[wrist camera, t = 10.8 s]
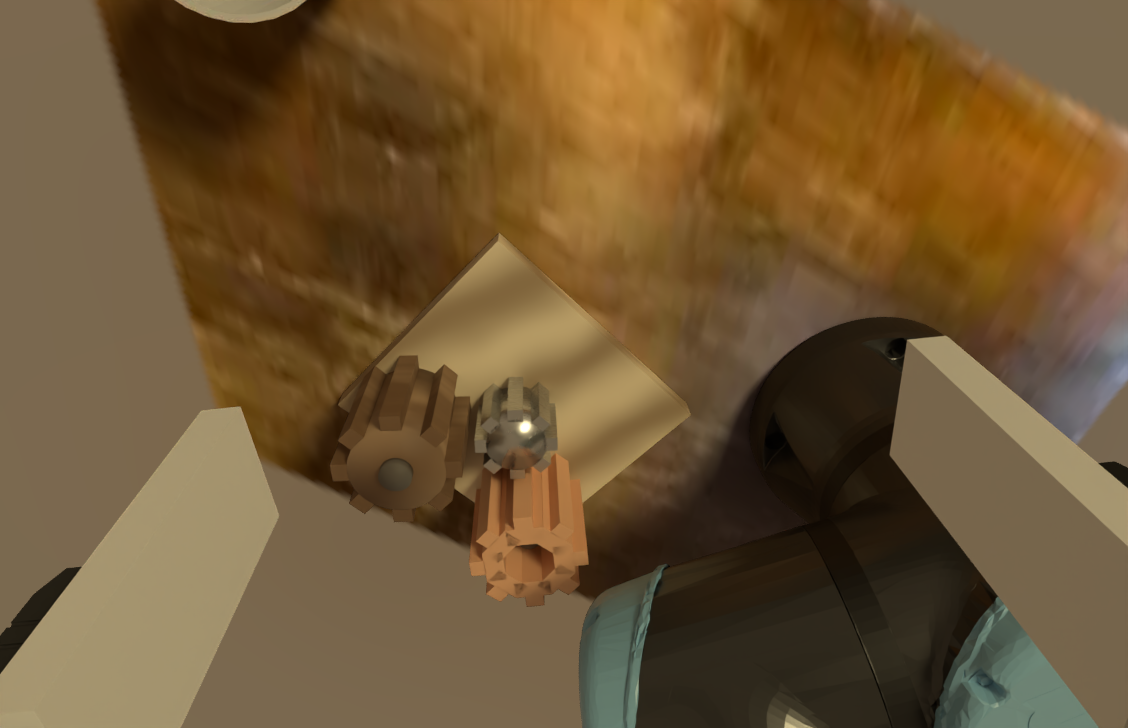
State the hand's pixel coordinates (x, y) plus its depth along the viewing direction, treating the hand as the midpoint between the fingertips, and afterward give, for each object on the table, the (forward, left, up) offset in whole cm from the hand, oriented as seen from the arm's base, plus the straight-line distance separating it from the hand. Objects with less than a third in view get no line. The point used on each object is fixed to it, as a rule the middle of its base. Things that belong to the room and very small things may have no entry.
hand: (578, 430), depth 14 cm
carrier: (-10, +13, -29) cm, 33 cm away
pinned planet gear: (-5, +17, -27) cm, 33 cm away
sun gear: (-10, +13, -27) cm, 32 cm away
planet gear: (-15, +17, -27) cm, 35 cm away
